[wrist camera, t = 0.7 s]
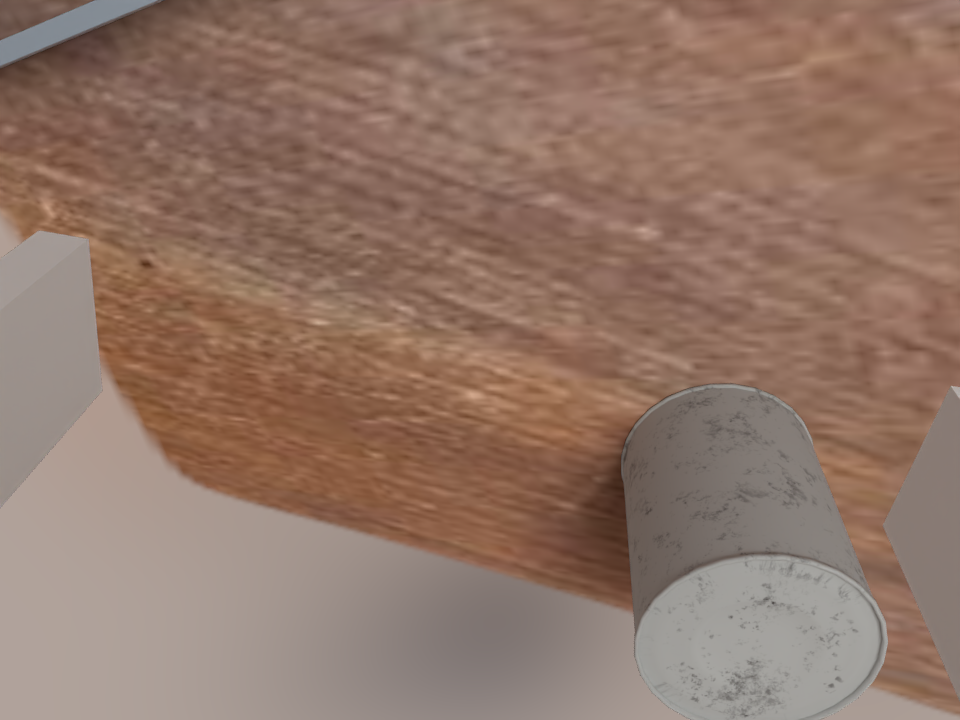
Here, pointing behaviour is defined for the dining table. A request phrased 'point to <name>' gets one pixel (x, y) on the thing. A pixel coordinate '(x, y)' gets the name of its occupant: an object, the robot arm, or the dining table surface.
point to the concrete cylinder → (742, 563)
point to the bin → (67, 27)
